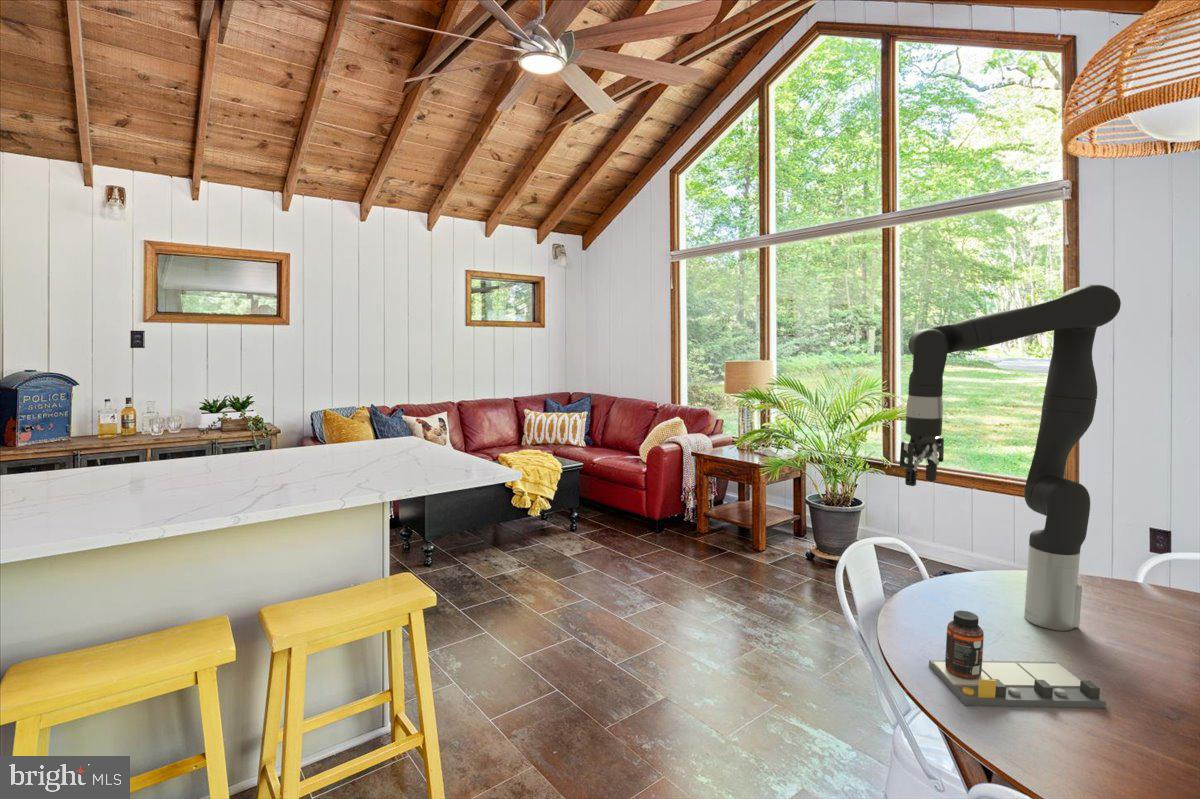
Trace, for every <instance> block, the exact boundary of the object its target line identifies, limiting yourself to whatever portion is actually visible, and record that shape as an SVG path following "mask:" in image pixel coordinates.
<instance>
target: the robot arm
mask: <svg viewBox="0 0 1200 799" xmlns="http://www.w3.org/2000/svg"><path fill="white" fill-rule="evenodd" d="M1121 304H1122V301H1121V298H1120V295H1119V293H1117V291H1115V290H1114V289H1112V288H1111V287H1109V286H1106V285H1102V284H1085V285H1082V286H1077V287H1074V288H1073V287H1072V288H1071V289H1069V290H1067V291H1065V292H1063V294H1061V296H1059V297H1057V298H1055V299H1052V300H1048V301H1044V302H1042V303H1038V304H1037V303H1036V304H1033V305H1028V306H1024V307H1019V308H1013V309H1009V310H1003V311H1002V310H1001V311H997V312H992V313H988V314H983V315H979V316H975V317H971V318H968V319H964V320H961V321H958V322H955V323H950V324H944V325H938V326H933V327H928V328H923V329H920V330H917V331H915V332H914V333H913V334H912V335H911V336H910V337H909V340H908V344H907V345H908V350H909V352H910V353H911V355H913V356H912V371H911V373H910V374H909V378H908V393H907V394H908V395H907V401H906V411H905V412H906V413H905V415H906V416H905V434H906V435H909V436H910V439H909V441H901V443H900V454H899V467H900V468H904V470H905V477H904V478H905V479H904V481H905V482H904V484H905V485H906V486H910V487H916V486H917V474H918V473H917V469H918V467H919V465H920V463H922V462H923V461H924V460H925V462H926V465H925V480H926V481H929V482H936V481H937V474H938V466H939V465H940V463H943V462H944V458H945V457H944V452H945V451H944V450H945V449H944V448H945V444H944V442H945V438H944V437H941V436H942V435H943V434H942V433H943V432H942V431H943V416H944V403H943V402H944V401H943V393H944V392H943V391H944V390H943V388H944V378H943V377H944V372H945V367H946V364H947V363H946V362H947V357H948V354H950V353H955V352H956V353H957V352H961V351H962V352H963V351H965V352H966V351H973V350H977V349H981V348H985V347H990V346H995V345H999V344H1002V343H1007V342H1010V341H1013V340H1014V341H1015V340H1018V339H1022V338H1025V337H1030V336H1034V335H1037V334H1041V333H1042V334H1043V333H1047V332H1051V331H1052V332H1053V344H1052V353H1051V357H1050V362H1049V366H1048V373H1047V378H1046V384H1045V389H1044V395H1043V400H1042V406H1041V413H1040V414H1041V415H1040V420H1039V421H1040V422H1039V427H1038V432H1037V438H1036V444H1035V450H1034V454H1033V456H1032V457H1033V458H1032V460H1031V462H1030V468H1029V471H1028V474H1027V478H1026V481H1025V486H1024V491H1023V492H1024V494H1023V495H1024V501H1025V503H1026V505H1027V507H1028V508H1029V509H1030V510H1032V511H1033V512H1035V513H1038V514H1040V515H1042V516H1045V517H1046V518H1045V525H1044V528H1043V529H1037V530H1036V529H1035V530H1032V531H1031V532H1030V534H1029V540H1028V553H1027V554H1028V555H1027V569H1026V571H1027V572H1026V584H1025V585H1026V586H1025V597H1024V598H1025V600H1024V612H1023V615H1024V616H1023V618H1025V619H1026V620H1027V622H1029V623H1031V624H1033V625H1035V626H1038V627H1041V628H1043V629H1044V628H1045V629H1049V630H1053V631H1062V632H1063V631H1067V632H1068V631H1071V630H1072V631H1073V630H1074V629H1076V628H1078V629H1079V628H1080V622H1081V612H1082V611H1081V610H1082V598H1083V597H1082V596H1083V586H1082V585H1081V584H1079V570H1080V558H1081V548H1082V545H1083V543H1084V541H1086V538H1087V533H1088V526H1089V520H1090V512H1091V496H1090V494H1089V491H1088V489H1087V488H1086V486H1084V485H1083V484H1081V483H1079V482H1077V481H1074V480H1070V479H1067V478H1065V472H1066V471H1065V470H1066V466H1067V461H1068V460H1067V459H1068V457H1069V455H1070V453H1071V451H1072V449H1073V448H1074V446H1075V445H1076V444H1077V443H1078V441H1080V439H1081V438H1082V437H1083V436H1084V435H1085V434H1086V432H1087V431H1088V429H1090V427H1091V425H1092V422H1093V421H1094V416H1095V411H1096V404H1097V398H1098V383H1097V382H1098V381H1097V377H1096V372H1095V367H1094V366H1095V365H1094V361H1093V347H1094V342H1095V337H1096V333H1097V329H1098V327H1099V328H1100V327H1102V326H1104V325H1106V324H1109V323H1110V322H1111V321H1113V320H1114V319H1115V318H1116V317H1117V315H1118V314H1119V312H1120V309H1121Z"/></svg>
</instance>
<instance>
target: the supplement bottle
mask: <svg viewBox="0 0 1200 799" xmlns="http://www.w3.org/2000/svg"><path fill="white" fill-rule="evenodd" d="M952 619H953V620H951V621H949V622H948V623H947V626H946V640H945V659H944V660H945V666H946V669H947V670H948V671H949V672H950V673H952V674H954V675H955V676H958V677H961V678H966V679H976V678H979V677H980V676H981V671H982V661H983V655H984V652H983V651H984V635H985V634H984V633H985V632H984V630H983V629H982V628H981V626H979V624H980V623H979V622H980V621H979V616H978V615H977V614H975V613H974V612H970V611H968V610H955V611H954V612H953V618H952Z"/></svg>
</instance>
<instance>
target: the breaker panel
mask: <svg viewBox="0 0 1200 799" xmlns="http://www.w3.org/2000/svg"><path fill="white" fill-rule="evenodd" d="M928 667H929V668H931V670H932V671H933V672H934V673H935V674H936V676H938V678H939V679H940V680H941V681H942V682H943V683H944V684H945V685H946V686H947V688H949V689H950V691H951V692H952V693H953V694H954V695H955V696H956V697H957V698H958V699H959V700H960V702H961V703H962V704H963V705H964V706H967V707H968V706H976V707H977V706H978V707H980V706H981V707H1025V706H1026V707H1032V708H1033V707H1035V708H1037V707H1038V708H1083V707H1084V708H1085V709H1087V708H1088V709H1089V708H1090V709H1091V708H1092V709H1093V708H1094V709H1095V708H1096V709H1097V708H1098V709H1106V708H1107V700H1105V699H1104V698H1103V697H1102V696H1100V695H1101V694H1100V693H1101V687H1099V686H1098V685H1096V684H1095V683H1094V682H1093V681H1091V680H1088V679H1087V680H1084V679H1083V680H1080V679H1079V678H1077V676H1075V675H1074V674H1072V673H1071V672H1069V670H1067V669H1066V668H1064V667H1063V666H1062V665H1060V664H1059V663H1057V662H1055V661H1036V660H1035V661H1031V660H1029V661H1027V660H1025V661H1023V660H1019V661H1017V660H1016V661H1015V660H982V671H981V676H980V677H979V678H976V679H966V678H961V677H958V676H955V675H954V674H952V673H950V672H949V671H948V670H947V669H946V666H945V659H942V660H941V659H929V660H928Z"/></svg>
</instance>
